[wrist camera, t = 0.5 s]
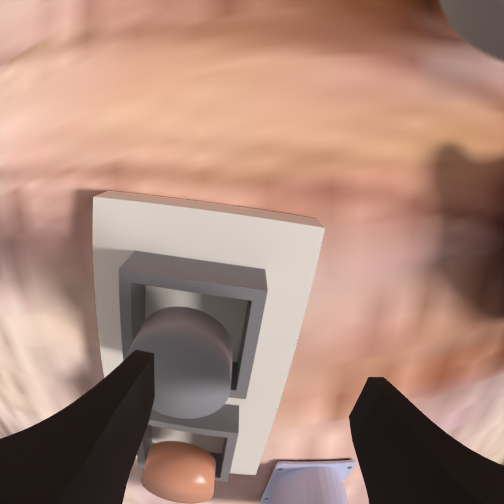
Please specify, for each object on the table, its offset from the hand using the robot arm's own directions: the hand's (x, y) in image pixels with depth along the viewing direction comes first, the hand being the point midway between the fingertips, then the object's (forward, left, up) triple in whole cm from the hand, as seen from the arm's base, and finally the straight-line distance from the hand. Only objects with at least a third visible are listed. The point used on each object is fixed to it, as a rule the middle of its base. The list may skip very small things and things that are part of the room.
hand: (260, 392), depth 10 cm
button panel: (-7, +3, -10) cm, 12 cm away
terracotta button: (-12, +3, -5) cm, 13 cm away
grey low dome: (-2, +3, -5) cm, 6 cm away
